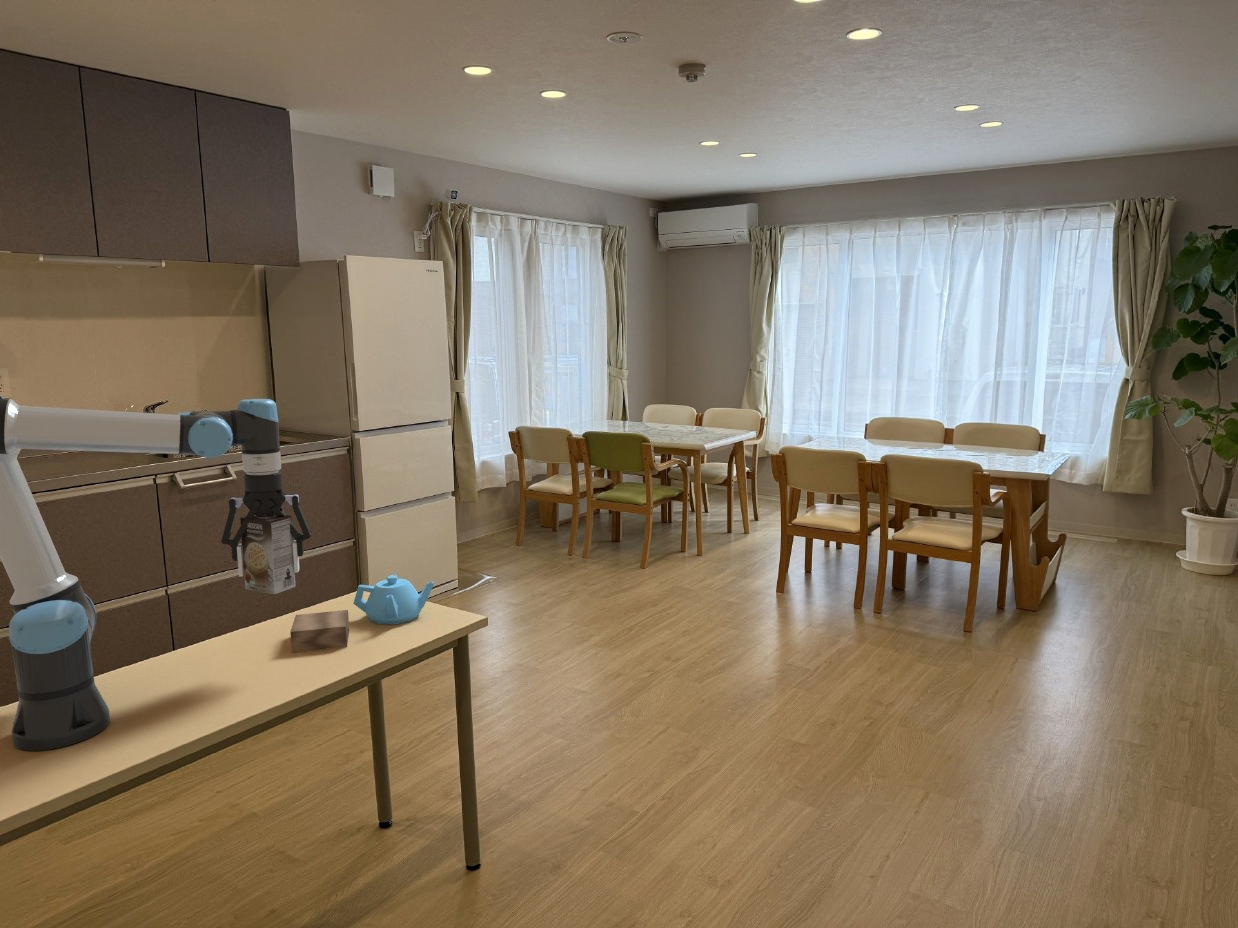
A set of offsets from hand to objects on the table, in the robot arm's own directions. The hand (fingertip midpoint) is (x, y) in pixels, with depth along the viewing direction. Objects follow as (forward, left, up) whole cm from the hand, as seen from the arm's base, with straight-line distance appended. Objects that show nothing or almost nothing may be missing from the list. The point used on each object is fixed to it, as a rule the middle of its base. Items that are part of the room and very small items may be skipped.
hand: (269, 572), depth 182 cm
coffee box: (0, 0, -4) cm, 4 cm away
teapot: (+25, +24, -21) cm, 41 cm away
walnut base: (+8, +12, -21) cm, 26 cm away
